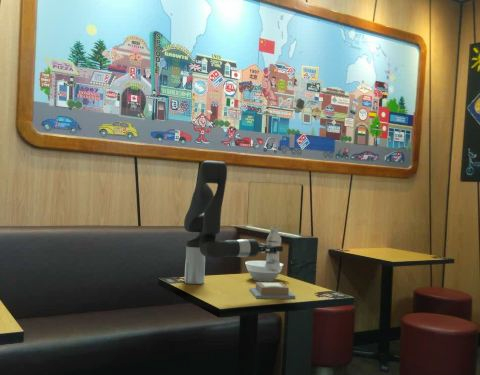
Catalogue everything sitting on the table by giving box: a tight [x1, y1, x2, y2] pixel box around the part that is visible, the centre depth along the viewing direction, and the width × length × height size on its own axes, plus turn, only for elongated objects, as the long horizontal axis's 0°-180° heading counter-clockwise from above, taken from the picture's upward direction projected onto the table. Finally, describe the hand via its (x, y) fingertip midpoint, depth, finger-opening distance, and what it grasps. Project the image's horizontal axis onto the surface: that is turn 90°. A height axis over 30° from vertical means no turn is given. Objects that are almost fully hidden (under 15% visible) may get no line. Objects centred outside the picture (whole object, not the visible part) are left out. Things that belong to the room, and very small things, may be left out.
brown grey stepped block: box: [248, 281, 296, 300], centre depth 224 cm, size 17×16×4 cm
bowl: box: [245, 260, 284, 282], centre depth 259 cm, size 19×20×8 cm
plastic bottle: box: [265, 226, 282, 273], centre depth 224 cm, size 6×7×20 cm
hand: (277, 247), depth 225 cm, fingers closed on plastic bottle, 6 cm apart
